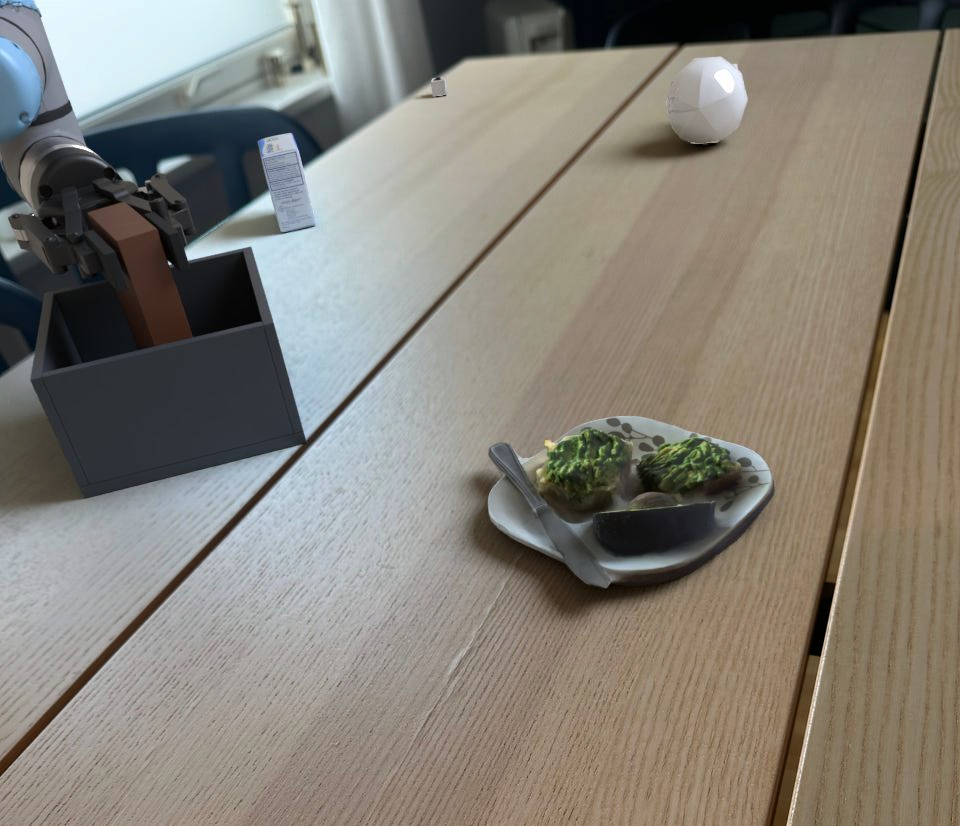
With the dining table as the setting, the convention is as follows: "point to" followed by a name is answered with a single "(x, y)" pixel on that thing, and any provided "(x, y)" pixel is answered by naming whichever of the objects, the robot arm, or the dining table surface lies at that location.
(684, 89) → the white faceted oblong piece
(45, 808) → the dining table surface
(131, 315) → the reddish brown rectangular block
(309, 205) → the medicine box
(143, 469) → the open storage box
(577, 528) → the salad plate
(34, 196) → the robot arm
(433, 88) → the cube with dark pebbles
